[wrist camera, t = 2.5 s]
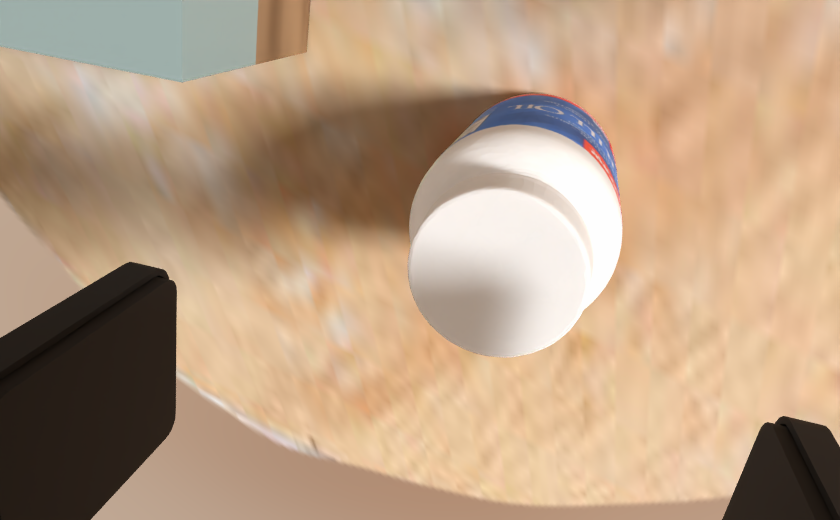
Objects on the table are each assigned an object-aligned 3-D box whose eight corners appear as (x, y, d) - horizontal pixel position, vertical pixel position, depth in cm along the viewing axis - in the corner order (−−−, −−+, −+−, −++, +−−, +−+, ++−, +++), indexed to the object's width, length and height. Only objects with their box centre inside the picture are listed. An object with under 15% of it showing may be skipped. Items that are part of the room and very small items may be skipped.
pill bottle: (650, 154, 22) (691, 266, 13) (548, 271, 25) (526, 432, 16) (516, 55, 22) (468, 102, 13) (426, 183, 24) (334, 296, 16)
